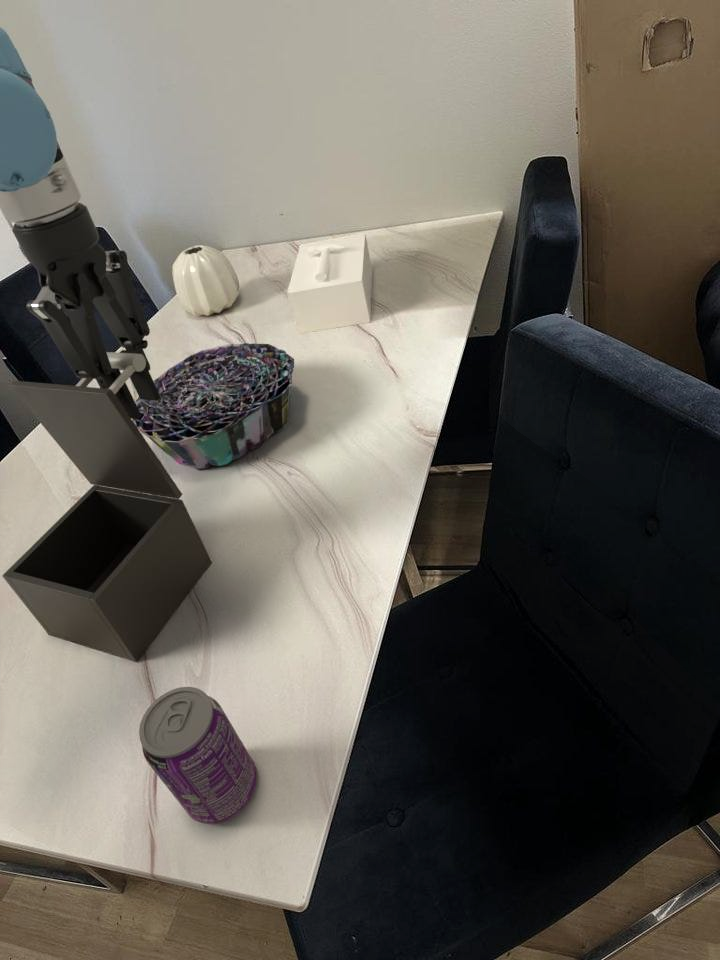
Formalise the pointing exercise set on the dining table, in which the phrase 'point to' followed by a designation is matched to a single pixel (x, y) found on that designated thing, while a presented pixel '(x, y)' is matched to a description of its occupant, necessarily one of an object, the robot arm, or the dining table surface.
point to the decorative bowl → (219, 403)
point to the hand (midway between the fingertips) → (140, 406)
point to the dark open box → (111, 570)
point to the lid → (100, 431)
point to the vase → (204, 280)
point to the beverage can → (198, 754)
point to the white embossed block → (331, 284)
